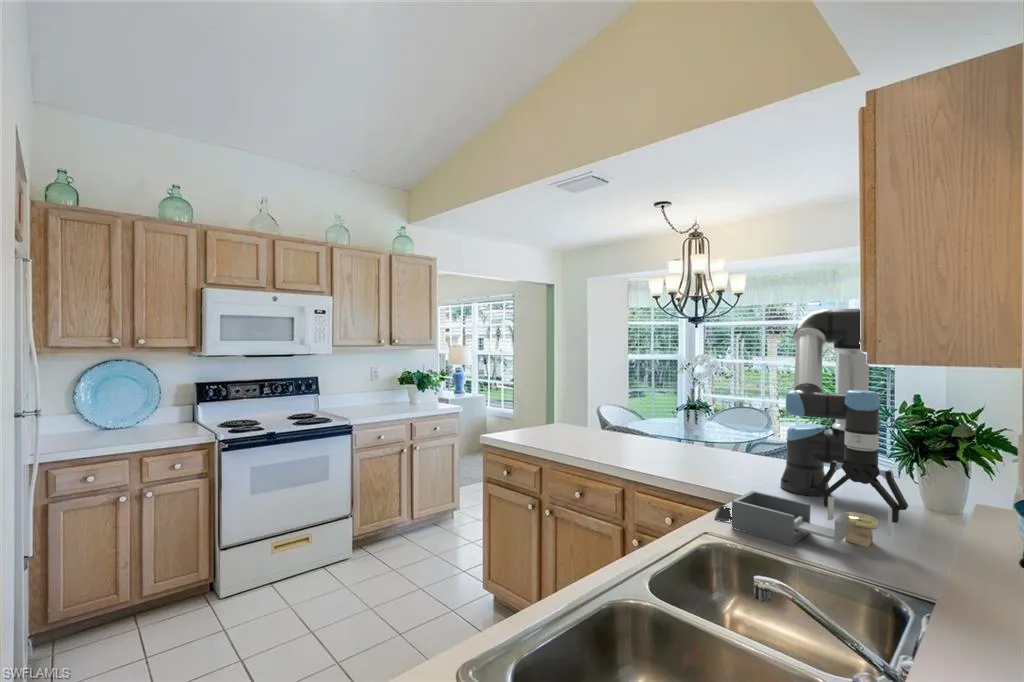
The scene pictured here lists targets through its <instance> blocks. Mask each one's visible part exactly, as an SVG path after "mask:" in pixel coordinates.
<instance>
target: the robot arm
mask: <svg viewBox="0 0 1024 682" xmlns="http://www.w3.org/2000/svg"><path fill="white" fill-rule="evenodd" d="M860 309H861V307H859V308H832V309H831V308H829V309H828V308H821V309H818V310H814V311H812V312H811V313H809V314H807V315H806V316H805V317H803V318H802V319H801V320H800V321H799V323H798V324H797V325H796V327H795V328H794V331H793V335H792V337H793V338H792V341H793V344H794V345H795V361H794V362H795V363H794V380H793V381H794V382H793V383H794V384H793V390H787V391H786V394H785V413H787V414H788V415H790V416H796V417H802V418H803V417H804V418H805V417H806V418H807V417H809V418H819V419H820V418H821V419H831V420H836V422H834V423H833V424H831V429H826V427H825V425H823V424H817V423H805V424H803V423H802V424H794V425H790V426H789V427H788V428H787V431H786V433H787V434H786V438H785V440H786V462H785V464H786V465H785V469H784V471H783V472H782V475H781V478H780V483H779V484H780V485H781V486H780V485H779V486H780V488H781V487H782V489H783V488H784V489H786V490H785V491H787V490H788V491H787V492H789V491H791V492H790V493H793V492H794V493H793V494H797V495H802V496H810V497H823V506H824V507H826V508H827V521H832V520H834V518H835V515H834V513H835V494H834V495H833V494H832V493H833V492H834V491H836V490H837V489H838V488H840V487H841V486H842V485H844V483H846V482H847V481H848V480H850V481H852V482H853V483H861V484H863V485H868V484H869V485H870V486H871V487H872V488H874V490H875V491H876V492H877V493H878V494H879V496H881V498H882V499H883V500H884V501H885V503H886V504H887V505H888V506H889V509H887V535H888V536H893V534H894V533H895V532H894V531H895V527H894V526H895V524H897V523H898V522H899V520H900V511H906V510H907V509H908V508H909V504H908V502H907V500H906V499H905V497H904V495H903V493H902V491H901V489H900V487H899V485H898V484H897V481H896V480H895V479H894V477H895V476H894V472H893V470H892V469H888V470H886V469H885V470H884V469H880V468H879V451H878V449H879V443H880V442H879V439H880V438H879V436H880V435H879V433H880V432H879V426H880V425H879V424H880V423H879V422H880V407H881V403H880V394H879V393H878V392H876V391H872V390H869V384H870V364H869V365H867V364H866V354H864V353H862V352H861V351H860V344H859V340H860ZM826 343H827V344H828V343H829V344H832V343H833V349H834V350H836V352H837V353H838V377H837V378H838V379H837V380H838V383H837V393H835V392H823V346H824V345H825V344H826ZM825 464H829V469H828V471H827V472H826V473H825V469H824V468H825ZM840 469H842V471H844V473H845V475H843V476H841V478H840V479H839V480H837V481H836V482H835V483H833V484H832V485H831V486H830V485H829V482H830V481H831V480H832V478H833V476H834V475H835V473H836V472H837V471H838V470H840ZM879 475H881V476H882V478H883V479H884V480H885V481H886V483H887V485H888V487H889V489H890V491H891V492H892V495H893V496H894V498H895V499H894V498H893V497H892V495H891V494H890V493H889V492H888V490H887V489H886V488H885V487H884V486H883V485H882V484H881V482H880V481H879V479H878V478H877V477H878V476H879ZM784 489H783V490H784Z"/></svg>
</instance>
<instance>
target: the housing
mask: <svg viewBox="0 0 1024 682" xmlns="http://www.w3.org/2000/svg"><path fill="white" fill-rule="evenodd" d="M731 507H732V524H731V528H732V527H733V528H736V529H739V530H741V531H740V532H742V531H745V532H747V533H746V534H749V533H751V534H750V535H752V534H754V535H753V536H755V535H757V536H756V537H759V536H761V537H760V538H762V537H763V539H765V538H767V539H766V540H769V539H770V541H772V540H773V541H772V542H775V541H776V543H780V544H783V545H786V546H789V547H794V546H795V545H796V544H797V543H799V542H800V541H801V540H802V539H804V537H806V536H808V535H809V533H807V532H804V531H800V530H796V529H794V520H795V519H796V518H798V517H799V516H800V517H803V519H802V521H803V522H807V523H811V508H812V507H811V503H807V502H802V501H797V500H794V499H789V498H787V497H782V496H776V495H773V494H769V493H765V492H764V493H763V492H760V491H757V490H751V491H748V492H747V493H744V494H743V495H741V496H739V497H737V498H735V499H734V500H732V501H731ZM739 530H738V531H739ZM745 532H744V533H745Z"/></svg>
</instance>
